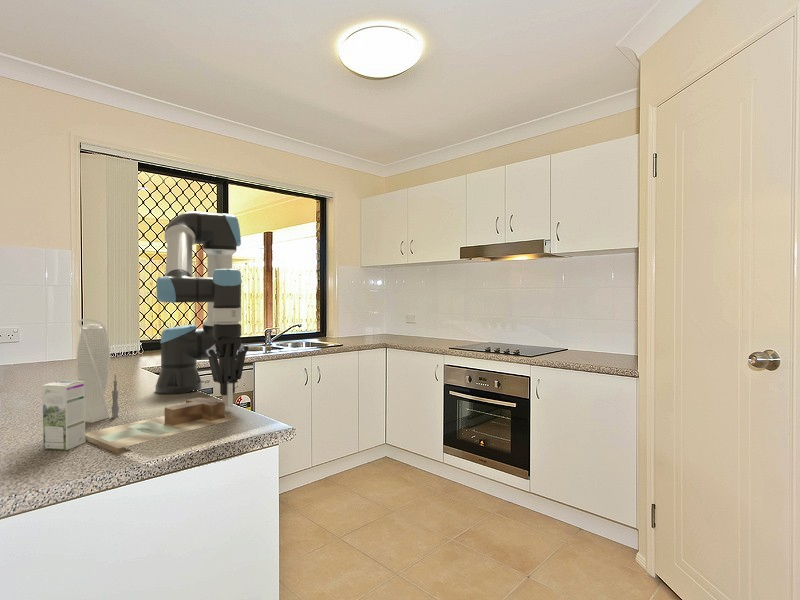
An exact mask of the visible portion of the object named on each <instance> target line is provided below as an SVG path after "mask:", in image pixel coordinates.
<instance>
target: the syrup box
mask: <svg viewBox="0 0 800 600" xmlns="http://www.w3.org/2000/svg"><path fill="white" fill-rule="evenodd" d="M41 389H42V439H43V442H42V444H43V446H42V447H43V448H42V449H43V450H47V451H48V450H49V451H50V450H52V451H53V450H54V451H69V450H71V449H73V448H74V449H75V448H76V447H78V446H81V445H83V444H85V443H86V442H87V441H86V439H85V433H86V422H85V382H84V381H78V380H57V381H51V382H49V383H45V384H42V388H41Z"/></svg>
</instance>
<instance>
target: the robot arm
mask: <svg viewBox="0 0 800 600" xmlns="http://www.w3.org/2000/svg"><path fill="white" fill-rule="evenodd" d="M239 223H240V222H239V220H238V218H237V216H236V215H234V214H229V213H222V212H205V211H202V212H201V211H195V210H194V211H186V212H183V213H181V214H179V215H176V216H175V217H174V218H172V220H171V221H170V222H168V224H167V225H166V227H165V230H164V241H165V243H166V244H167V245H166V261H165V275H164V276H159V277H157V279H156V298H157V301H158V302H161V303H171V304H175V303H207V304H206V305H207V309H206V310H207V311H206V312H207V313H206V314H207V315H206V316H207V317H206V320H205V321H204V322H202V328H200V327H199V328H198V327H197V325H196V324H186V325H179V326H174V327H167V328H164V329H163V330H162V332H161V337H160V342H159V343H160V372H159V375H158V377H157V380H156V383H155V393H158V394H164V395H166V394H167V395H168V394H169V395H170V394H171V395H173V394H184V393H191V392H190V391H192V392H194V391H193V390H196V391H200V390H202V387H203V385H202V384H203V383H202V379H201V376H200V374H199V370H198V368H197V361H200V360H201V361H203V360H208V363H209V367H210V371H211V376H212V380H213V382H215V383H218V384H219V394H220V396H222V399H221V400H222V401H221V402H223V403H225V407H226V408H231V407H233V406H234V403H233V402H234V395H233V394H235V392H236V385H235V384H237V383H238V380H241V379H242V374H243V370H244V365H245V360H246V359H245V358H246V356H247V352H248V351H249V348H250V347H249V346H248V345H245V344H243V342H242V339H241V336H242V324H241V322H242V283H243V281H242V273H241V271H240V269H237V268H236V269H235V268H233V255H234V254H235V253H236V252H237V248H238V247H240V246H241V244H242V238H241V230H240V224H239ZM193 245H202V251H204V252H205V253H206V256H207V258H206V259H207V261H206V262H207V268H206V269H207V275H206V276H207V277H206V276H205V277H204V276H193ZM196 391H195V392H196Z"/></svg>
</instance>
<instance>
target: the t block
mask: <svg viewBox="0 0 800 600" xmlns="http://www.w3.org/2000/svg"><path fill="white" fill-rule="evenodd" d="M225 407H226V406H225V403H223V402H222V401H217V400H213V399H208V398H203V397H200V396H199V397H194V398H189V399H185V403H181V404H177V405H171V406H166V407H164V416H165V423H166V424H169V425H172V426H174V425H178V424H182V423H186V422H191V421H195V420H199V419H205V420H209V421H213V420H217V419H222V418H225V415H226V414H225V413H226V412H225V411H226V410H225Z"/></svg>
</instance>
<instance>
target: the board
mask: <svg viewBox="0 0 800 600" xmlns="http://www.w3.org/2000/svg"><path fill="white" fill-rule="evenodd" d="M234 420H239V417H237V416H232V415H228V414H225V418H222V419H217V420H213V421H209V420H205V419H199V420H195V421H191V422H186V423H182V424H178V425H174V426H172V425H169V424H166V423H165V415H161V416H157V417H153V418H152V417H151V418H148V419H143V420H138V421H134V422H130V423H124V424H119V425H115V426H110V427H105V428H100V429H95V430H90V431H87V432H86V431H85V439H86V442H89V443H91V444H94V445H95V446H98V447H101V448H103V449H104V450H108V451H109V452H112V453H114V454H117V455H120V454H124V453H127V452H131V451H132V449H128V448H126V447H130V446H135V445H138V444H139V445H140V444H142V443H147V442H149V441H150V442H151V441H154V440H159V439H163V438H166V437H171V436H174V435H178V434H181V433H182V434H183V433H186V432H190V431H194V430H199V429H202V428H206V427H210V426H213V425H218V424H222V423H226V422H230V421H234Z"/></svg>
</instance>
